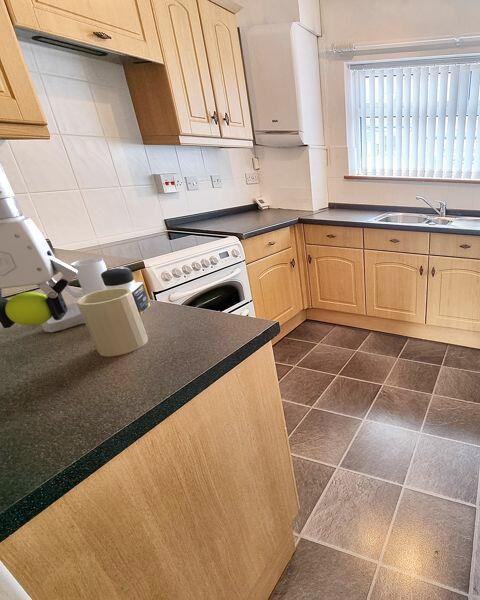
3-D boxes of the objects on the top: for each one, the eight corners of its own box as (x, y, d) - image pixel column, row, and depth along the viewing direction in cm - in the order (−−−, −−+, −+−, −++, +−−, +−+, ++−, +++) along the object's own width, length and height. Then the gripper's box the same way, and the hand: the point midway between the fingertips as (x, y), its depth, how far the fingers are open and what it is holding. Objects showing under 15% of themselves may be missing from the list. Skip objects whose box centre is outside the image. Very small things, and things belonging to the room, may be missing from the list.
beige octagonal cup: (93, 360, 69) (69, 307, 64) (104, 341, 76) (83, 292, 71) (144, 349, 73) (125, 299, 68) (150, 332, 80) (134, 285, 75)
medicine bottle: (141, 316, 88) (125, 272, 83) (108, 320, 86) (90, 275, 81) (151, 305, 94) (137, 264, 89) (121, 308, 92) (105, 266, 87)
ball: (7, 334, 54) (-10, 302, 51) (23, 320, 58) (8, 290, 56) (53, 327, 56) (39, 296, 54) (65, 313, 60) (52, 284, 58)
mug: (117, 295, 101) (102, 256, 96) (119, 301, 96) (103, 261, 91) (72, 304, 95) (54, 263, 90) (72, 312, 90) (52, 269, 85)
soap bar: (58, 344, 81) (41, 330, 77) (47, 332, 84) (29, 317, 79) (103, 318, 87) (89, 304, 83) (91, 307, 89) (76, 292, 85)
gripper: (-128, 220, 43) (-51, 342, 50) (51, 211, 50) (95, 319, 57) (-85, 211, 49) (-23, 321, 56) (68, 204, 56) (106, 303, 63)
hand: (36, 319), depth 57 cm, fingers closed on ball, 5 cm apart
